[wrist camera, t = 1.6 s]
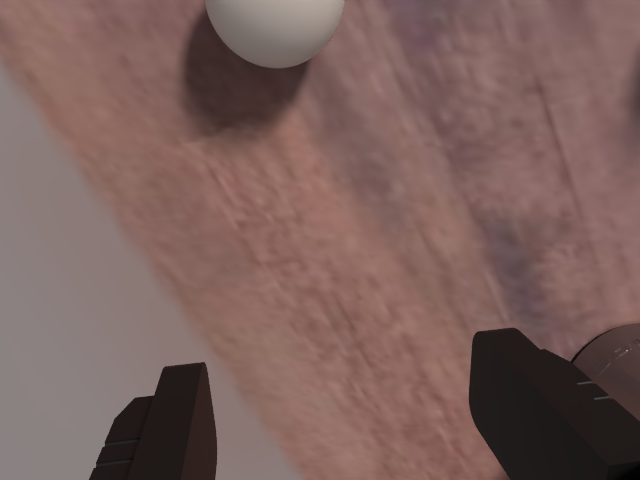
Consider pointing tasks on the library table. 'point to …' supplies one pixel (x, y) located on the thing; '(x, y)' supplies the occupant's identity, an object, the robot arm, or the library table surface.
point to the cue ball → (275, 28)
